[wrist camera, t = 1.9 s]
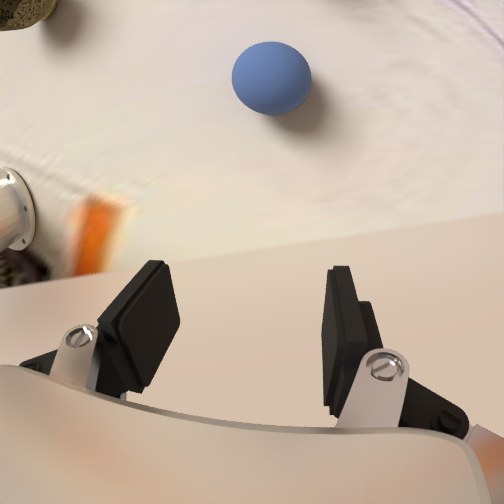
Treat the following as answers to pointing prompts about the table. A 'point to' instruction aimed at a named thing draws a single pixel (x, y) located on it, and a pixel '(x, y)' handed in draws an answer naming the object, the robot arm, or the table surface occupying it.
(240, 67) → the ball
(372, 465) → the robot arm
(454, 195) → the table surface
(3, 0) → the cup
